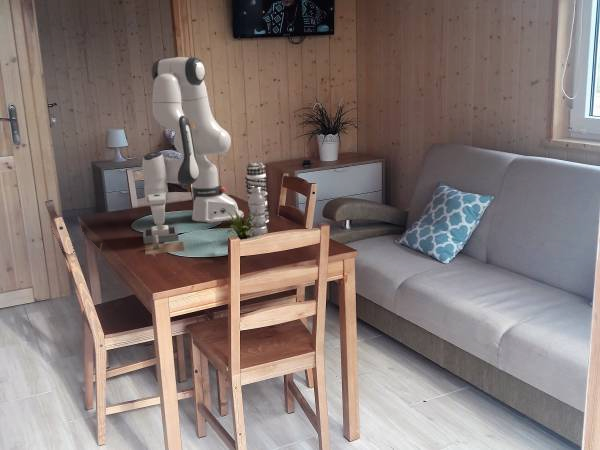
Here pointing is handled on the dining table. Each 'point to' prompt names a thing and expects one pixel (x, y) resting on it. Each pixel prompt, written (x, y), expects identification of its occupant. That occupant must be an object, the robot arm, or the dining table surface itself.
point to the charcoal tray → (161, 238)
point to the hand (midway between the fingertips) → (160, 230)
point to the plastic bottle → (257, 211)
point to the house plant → (238, 226)
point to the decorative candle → (257, 183)
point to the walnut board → (163, 247)
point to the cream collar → (155, 230)
